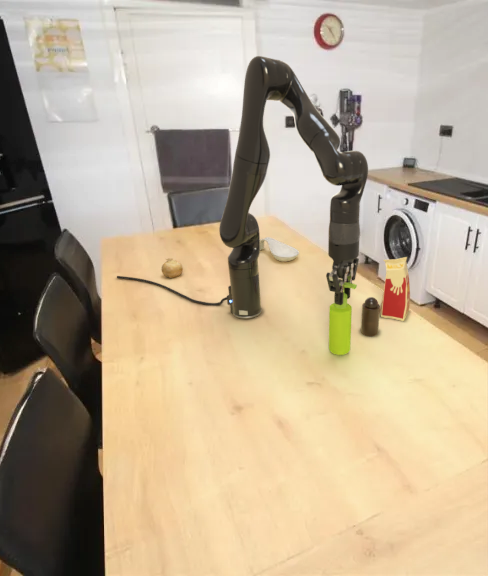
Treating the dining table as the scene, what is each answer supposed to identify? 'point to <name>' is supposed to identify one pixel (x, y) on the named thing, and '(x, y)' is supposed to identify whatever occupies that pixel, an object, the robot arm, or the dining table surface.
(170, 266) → the onion
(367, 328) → the pepper mill
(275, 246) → the spoon rest
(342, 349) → the soap dispenser
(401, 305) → the red cream snack bag
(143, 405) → the dining table surface
